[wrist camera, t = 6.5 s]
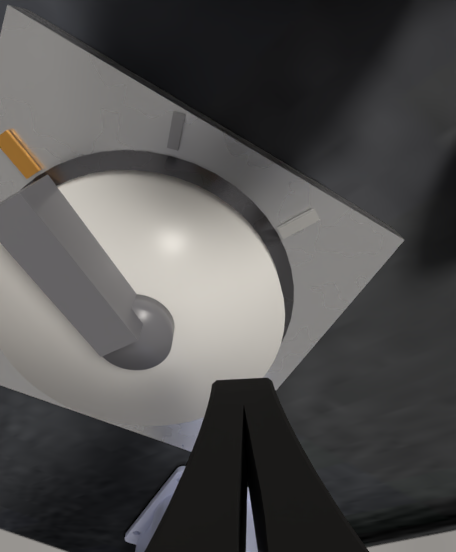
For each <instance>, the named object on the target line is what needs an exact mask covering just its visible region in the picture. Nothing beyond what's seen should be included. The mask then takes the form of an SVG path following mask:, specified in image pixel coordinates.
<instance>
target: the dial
mask: <svg viewBox="0 0 456 552" xmlns="http://www.w3.org/2000/svg"><path fill="white" fill-rule="evenodd" d="M284 324H285V307H284V298H283V294H282V290H281V286H280V282H279V278H278V274H277V270H276V267H275V264H274V262H273V259H272V257H271V255H270V252H269V250H268V249H267V247H266V245H265V244H264V242H263V240H262V239H261V237H260V235H259V234H258V233H257V232H256V231H255V229H254V228H253V227H252V226H251V224H250V223H249V222H248V221H247V220H246V219H245V218H244V217H243V216H242V215H241V214H240V213H239V212H237V211H236V210H235V209H234V208H233V207H232V206H230V205H229V204H228V203H226V202H225V201H223V200H222V199H221V198H219V197H218V196H216V195H215V194H213V193H211V192H209V191H207V190H205V189H203V188H201V187H200V186H198V185H195V184H193V183H190V182H187V181H185V180H182V179H179V178H177V177H173V176H169V175H164V174H160V173H156V172H148V171H139V170H110V171H103V172H97V173H90V174H87V175H84V176H80V177H77V178H74V179H70V180H68V181H66V182H64V183H62V184H60V185H58V186H56V185H55V183H54V182H53V181H52V179H51V178H50V177H49V175H48V174H47V175H46V176H44V177H42V178H41V179H39V180H37V181H35V182H34V183H32V184H30V185H29V186H27V187H25V188H23V189H22V190H20V191H18V192H16V193H15V194H13V195H11V196H10V197H8V198H7V199H5V200H3V201H2V202H0V349H1V351H2V352H3V353H4V355H5V356H6V357H7V359H8V360H9V362H10V363H11V364H12V365H13V366H14V367H15V369H16V370H17V371H18V372H19V373H20V374H21V375H22V376H23V377H24V378H25V379H26V380H28V381H29V382H30V383H31V384H32V385H33V386H35V387H36V388H37V389H38V390H40V391H41V392H43V393H44V394H46V395H47V396H49V397H50V398H52V399H54V400H55V401H57V402H59V403H61V404H62V405H64V406H66V407H68V408H71V409H73V410H75V411H77V412H80V413H82V414H85V415H88V416H91V417H94V418H97V419H101V420H105V421H109V422H114V423H120V424H127V425H138V426H163V425H172V424H180V423H184V422H189V421H194V420H197V419H200V418H203V417H204V416H205V412H206V409H207V405H208V402H209V398H210V393H211V388H212V384H213V383H214V382H215V381H216V380H229V379H249V378H263V377H264V375H265V374H266V373H267V372H268V370H269V368H270V367H271V365H272V363H273V361H274V360H275V358H276V355H277V353H278V350H279V348H280V345H281V341H282V337H283V333H284Z"/></svg>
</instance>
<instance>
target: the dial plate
mask: <svg viewBox="0 0 456 552" xmlns="http://www.w3.org/2000/svg"><path fill="white" fill-rule="evenodd" d="M110 170H139V171H148V172H156V173H160V174H164V175H169V176H173V177H177V178H179V179H182V180H185V181H187V182H190V183H193V184H195V185H198V186H200V187H201V188H203V189H205V190H207V191H209V192H211V193H213V194H215V195H216V196H218V197H219V198H221V199H222V200H223V201H225V202H226V203H228V204H229V205H230V206H232V207H233V208H234V209H235V210H236V211H237V212H239V213H240V214H241V215H242V216H243V217H244V218H245V219H246V220H247V221H248V222H249V223H250V224H251V226H252V227H253V228H254V229H255V231H256V232H257V233H258V234H259V235H260V237H261V239H262V240H263V242H264V244H265V245H266V247H267V249H268V250H269V252H270V255H271V257H272V259H273V262H274V264H275V267H276V270H277V274H278V278H279V282H280V286H281V290H282V294H283V298H284V307H285V324H284V333H283V337H282V341H281V345H280V348H279V350H278V353H277V355H276V358H275V360H274V361H273V363H272V365H271V367H270V368H269V370H268V372H267V373H266V374H265V375H264V377H263V378H269V379H270V380H272V382H273V385H274V388H275V391H276V390H277V389H278V387H279V386H280V385H281V384H282V383H283V382H284V380H285V379H286V378H287V377H288V376H289V375H290V373H291V372H292V371H293V370H294V369H295V368H296V366H297V365H298V364H299V363H300V362H301V361H302V359H303V358H304V357H305V356H306V355H307V354H308V352H309V351H310V350H311V349H312V348H313V347H314V345H315V344H316V343H317V342H318V341H319V339H320V338H321V337H322V336H323V335H324V334H325V332H326V331H327V330H328V329H329V328H330V327H331V325H332V324H333V323H334V322H335V321H336V320H337V318H338V317H339V316H340V315H341V314H342V313H343V311H344V310H345V309H346V308H347V307H348V306H349V304H350V303H351V302H352V301H353V300H354V298H355V297H356V296H357V295H358V294H359V293H360V291H361V290H362V289H363V288H364V287H365V286H366V284H367V283H368V282H369V281H370V280H371V279H372V277H373V276H374V275H375V274H376V273H377V272H378V270H379V269H380V268H381V267H382V266H383V265H384V263H385V262H386V261H387V260H388V259H389V258H390V256H391V255H392V254H393V253H394V252H395V250H396V249H397V248H398V247H399V246H400V245H401V243H402V242H403V241H404V239H403V238H402V237H401V236H400V235H399V234H398V233H397V232H396V231H395V230H394V229H393V228H392V227H391V226H390V225H388V224H386V223H385V222H383V221H381V220H380V219H378V218H376V217H374V216H373V215H371V214H369V213H368V212H366V211H364V210H363V209H361V208H359V207H358V206H356V205H354V204H353V203H351V202H349V201H348V200H346V199H344V198H343V197H341V196H339V195H338V194H336V193H334V192H333V191H331V190H329V189H328V188H326V187H324V186H323V185H321V184H319V183H318V182H316V181H314V180H313V179H311V178H309V177H308V176H306V175H304V174H303V173H301V172H299V171H297V170H296V169H294V168H292V167H291V166H289V165H287V164H286V163H284V162H282V161H281V160H279V159H277V158H276V157H274V156H272V155H271V154H269V153H267V152H266V151H264V150H262V149H261V148H259V147H257V146H256V145H254V144H252V143H251V142H249V141H247V140H246V139H244V138H242V137H241V136H239V135H237V134H236V133H234V132H232V131H231V130H229V129H227V128H226V127H224V126H222V125H221V124H219V123H217V122H215V121H214V120H212V119H210V118H209V117H207V116H205V115H204V114H202V113H200V112H199V111H197V110H195V109H194V108H192V107H190V106H189V105H187V104H185V103H184V102H182V101H180V100H179V99H177V98H175V97H174V96H172V95H170V94H169V93H167V92H165V91H164V90H162V89H160V88H159V87H157V86H155V85H154V84H152V83H150V82H149V81H147V80H145V79H144V78H142V77H140V76H139V75H137V74H135V73H133V72H132V71H130V70H128V69H127V68H125V67H123V66H122V65H120V64H118V63H117V62H115V61H113V60H112V59H110V58H108V57H107V56H105V55H103V54H102V53H100V52H98V51H97V50H95V49H93V48H92V47H90V46H88V45H87V44H85V43H83V42H82V41H80V40H78V39H77V38H75V37H73V36H72V35H70V34H68V33H67V32H65V31H63V30H62V29H60V28H58V27H56V26H55V25H53V24H51V23H50V22H48V21H46V20H45V19H43V18H41V17H40V16H38V15H36V14H35V13H33V12H31V11H30V10H27V9H23V8H19V7H15V6H11V5H7V9H6V13H5V18H4V22H3V26H2V30H1V34H0V202H2V201H3V200H5V199H7V198H8V197H10V196H11V195H13V194H15V193H16V192H18V191H20V190H22V189H23V188H25V187H27V186H29V185H30V184H32V183H34V182H35V181H37V180H39V179H41V178H42V177H44V176H46V175H47V174H48V175H49V177H50V178H51V179H52V181H53V182H54V183H55V185H56V186H58V185H60V184H62V183H64V182H66V181H68V180H70V179H74V178H77V177H80V176H84V175H87V174H90V173H97V172H103V171H110ZM0 385H1V386H4V387H7V388H10V389H13V390H15V391H18V392H21V393H24V394H27V395H30V396H33V397H36V398H38V399H41V400H44V401H47V402H50V403H53V404H56V405H59V406H61V407H64V408H67V409H70V410H73V409H71V408H68V407H66V406H64V405H62V404H61V403H59V402H57V401H55V400H54V399H52V398H50V397H49V396H47V395H46V394H44V393H43V392H41V391H40V390H38V389H37V388H36V387H35V386H33V385H32V384H31V383H30V382H29V381H28V380H26V379H25V378H24V377H23V376H22V375H21V374H20V373H19V372H18V371H17V370H16V369H15V367H14V366H13V365H12V364H11V363H10V362H9V360H8V359H7V357H6V356H5V355H4V353H3V352H2V351H1V349H0ZM73 411H75V410H73ZM76 412H77V411H76ZM79 413H80V412H79ZM84 415H85V414H84ZM87 416H88V415H87ZM90 417H91V416H90ZM93 418H94V417H93ZM96 419H97V418H96ZM203 419H204V417H203V418H200V419H197V420H194V421H189V422H184V423H180V424H172V425H163V426H138V425H127V424H120V423H114V422H109V421H105V420H102V421H105V422H107V423H110V424H113V425H116V426H119V427H122V428H125V429H128V430H130V431H133V432H136V433H139V434H142V435H145V436H148V437H151V438H153V439H156V440H159V441H162V442H165V443H168V444H171V445H173V446H176V447H179V448H182V449H185V450H188V451H191V452H192V449H193V447H194V444H195V441H196V439H197V436H198V433H199V431H200V428H201V425H202V422H203ZM99 420H101V419H99Z"/></svg>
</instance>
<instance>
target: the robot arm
mask: <svg viewBox="0 0 456 552" xmlns="http://www.w3.org/2000/svg"><path fill="white" fill-rule="evenodd" d="M125 541H126V542H128V543H132V544H136V549H135V552H369V551H368V549H367V548H366V547H365V545H364V544H363V542H362V541H361V540H360V538H359V537H358V535H357V534H356V533H355V531H354V530H353V528H352V527H351V525H350V524H349V523H348V521H347V520H346V518H345V517H344V515H343V514H342V512H341V511H340V509H339V508H338V506H337V505H336V503H335V501H334V500H333V498H332V497H331V495H330V494H329V492H328V490H327V489H326V487H325V486H324V484H323V482H322V481H321V479H320V478H319V476H318V474H317V472H316V471H315V469H314V467H313V466H312V464H311V462H310V460H309V459H308V457H307V455H306V453H305V451H304V450H303V448H302V446H301V444H300V442H299V441H298V439H297V437H296V435H295V433H294V431H293V429H292V427H291V425H290V423H289V421H288V419H287V417H286V415H285V413H284V410H283V408H282V406H281V404H280V401H279V399H278V396H277V394H276V391H275V388H274V385H273V382H272V380H270V379H269V378H249V379H229V380H216V381H215V382H214V383H213V384H212V388H211V393H210V398H209V402H208V405H207V409H206V412H205V416H204V419H203V422H202V425H201V428H200V431H199V433H198V436H197V439H196V441H195V444H194V447H193V449H192V452H191V454H190V457H189V460H188V462H187V464H186V466H180V467H178V468H177V469H176V470H175V471H174V473H173V474H172V475H171V476H170V478H169V479H168V480H167V482H166V483H165V484H164V485H163V487H162V488H161V489H160V490H159V492H158V493H157V494H156V495H155V497H154V498H153V499H152V500H151V502H150V503H149V504H148V506H147V507H146V508H145V509H144V511H143V512H142V513H141V514H140V516H139V517H138V518H137V519H136V521H135V522H134V523H133V525H132V526H131V527H130V528H129V530H128V531H127V532H126V534H125Z"/></svg>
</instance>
